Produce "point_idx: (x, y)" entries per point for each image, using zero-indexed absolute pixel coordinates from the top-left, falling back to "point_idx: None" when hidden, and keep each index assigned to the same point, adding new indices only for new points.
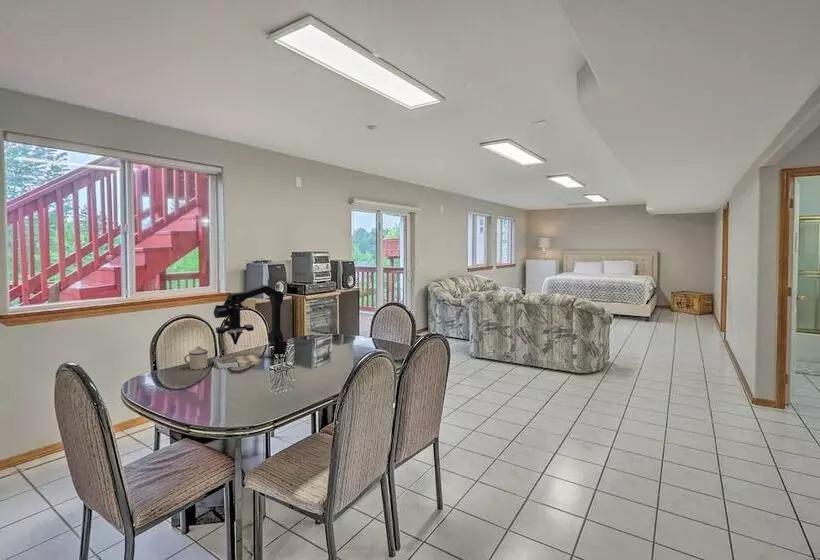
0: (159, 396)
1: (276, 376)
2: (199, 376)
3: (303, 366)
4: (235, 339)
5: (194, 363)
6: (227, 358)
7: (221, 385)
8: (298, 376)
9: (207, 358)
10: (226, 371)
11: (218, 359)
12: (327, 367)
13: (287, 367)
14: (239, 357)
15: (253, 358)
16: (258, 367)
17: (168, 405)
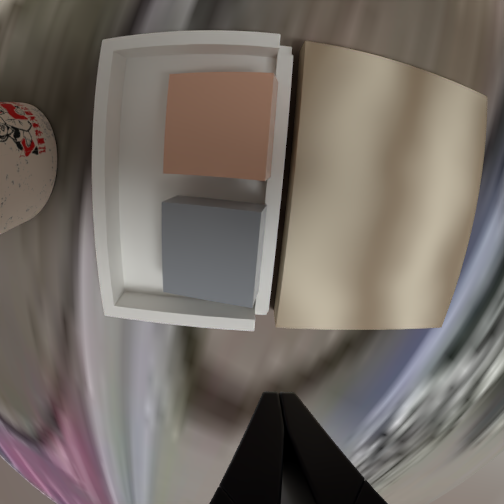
0: (3, 441)
1: None
2: (36, 362)
3: (474, 427)
4: (292, 491)
5: None
6: (210, 146)
7: (134, 485)
8: None
9: (12, 188)
10: (162, 370)
11: (150, 49)
12: (486, 448)
13: (439, 426)
14: (359, 101)
15: (435, 238)
16: (362, 386)
17: (45, 485)
